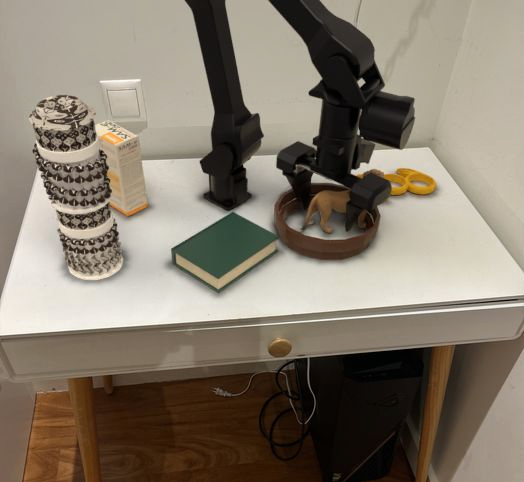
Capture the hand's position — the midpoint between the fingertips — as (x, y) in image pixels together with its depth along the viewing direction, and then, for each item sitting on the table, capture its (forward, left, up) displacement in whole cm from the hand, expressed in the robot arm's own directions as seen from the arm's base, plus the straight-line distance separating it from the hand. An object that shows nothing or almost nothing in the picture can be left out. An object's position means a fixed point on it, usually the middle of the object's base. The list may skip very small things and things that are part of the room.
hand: (325, 220), depth 95 cm
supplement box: (-31, -18, -2) cm, 36 cm away
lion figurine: (+1, +3, -2) cm, 4 cm away
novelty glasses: (+1, +20, -2) cm, 20 cm away
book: (-7, -17, -2) cm, 19 cm away
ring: (0, 0, -2) cm, 2 cm away
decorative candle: (-21, -32, -2) cm, 38 cm away
